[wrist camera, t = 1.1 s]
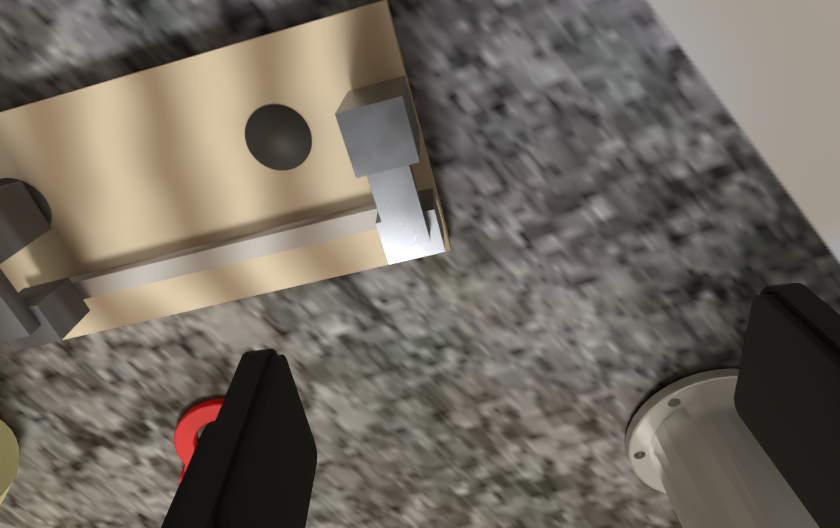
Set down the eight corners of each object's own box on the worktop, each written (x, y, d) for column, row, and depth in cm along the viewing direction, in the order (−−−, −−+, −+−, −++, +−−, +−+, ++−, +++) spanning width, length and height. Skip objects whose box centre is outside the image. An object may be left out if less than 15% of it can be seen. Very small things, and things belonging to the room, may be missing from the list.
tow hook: (185, 383, 40) (172, 471, 44) (96, 539, 29) (89, 640, 32) (298, 407, 41) (275, 490, 45) (256, 566, 30) (231, 660, 34)
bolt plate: (387, -1, 27) (378, 7, 21) (449, 239, 34) (456, 299, 28) (-72, 132, 31) (-194, 173, 24) (66, 329, 37) (-4, 400, 31)
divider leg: (404, 74, 28) (401, 95, 23) (442, 218, 31) (446, 260, 27) (348, 90, 28) (334, 114, 23) (392, 230, 32) (387, 274, 27)
